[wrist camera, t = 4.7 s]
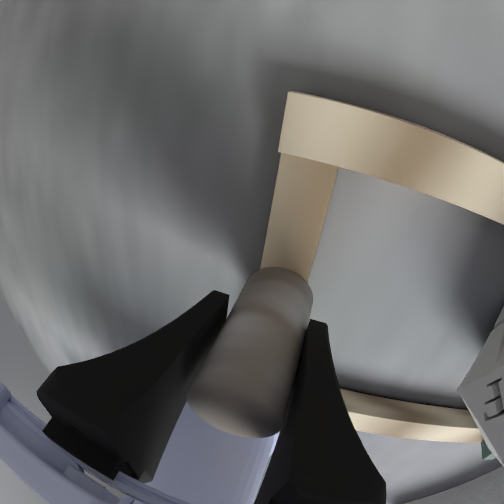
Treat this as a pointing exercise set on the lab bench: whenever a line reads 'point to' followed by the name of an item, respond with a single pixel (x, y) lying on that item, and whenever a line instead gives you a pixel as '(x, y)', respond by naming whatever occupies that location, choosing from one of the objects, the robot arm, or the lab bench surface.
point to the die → (488, 390)
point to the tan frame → (302, 256)
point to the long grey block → (471, 491)
